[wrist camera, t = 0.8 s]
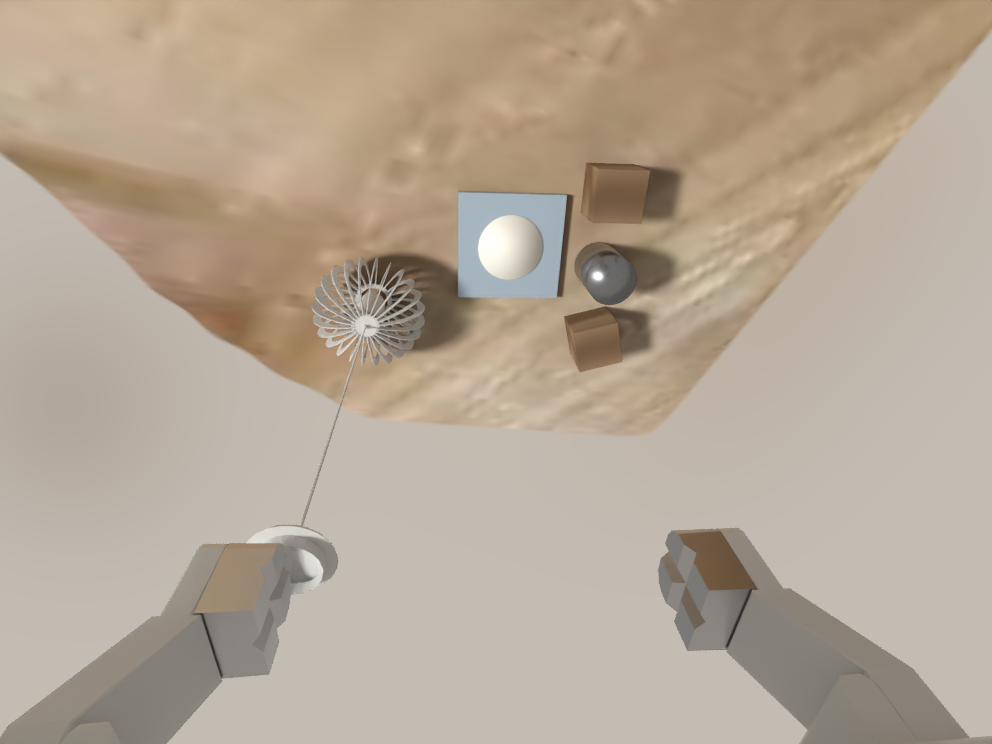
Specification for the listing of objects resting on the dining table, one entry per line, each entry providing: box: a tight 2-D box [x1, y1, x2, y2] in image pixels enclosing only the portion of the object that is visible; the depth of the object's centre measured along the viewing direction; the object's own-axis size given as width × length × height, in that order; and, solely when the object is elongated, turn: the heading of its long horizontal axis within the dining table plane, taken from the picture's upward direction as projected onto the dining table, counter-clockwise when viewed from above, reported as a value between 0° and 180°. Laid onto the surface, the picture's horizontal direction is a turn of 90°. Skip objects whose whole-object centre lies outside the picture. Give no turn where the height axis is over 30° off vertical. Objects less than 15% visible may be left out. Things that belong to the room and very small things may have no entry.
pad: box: [458, 191, 567, 298], centre depth 45 cm, size 9×9×1 cm
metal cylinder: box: [575, 242, 637, 305], centre depth 45 cm, size 4×4×5 cm
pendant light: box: [247, 257, 425, 595], centre depth 33 cm, size 9×9×30 cm
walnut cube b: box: [564, 307, 622, 372], centre depth 48 cm, size 4×4×4 cm
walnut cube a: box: [581, 163, 650, 224], centre depth 42 cm, size 4×4×4 cm
